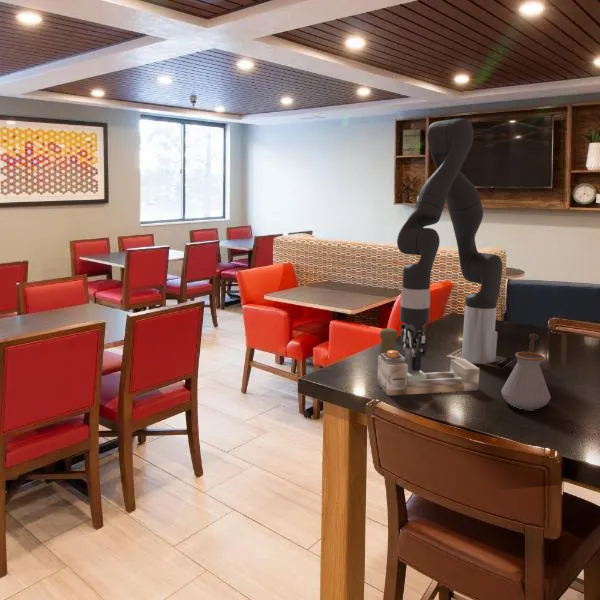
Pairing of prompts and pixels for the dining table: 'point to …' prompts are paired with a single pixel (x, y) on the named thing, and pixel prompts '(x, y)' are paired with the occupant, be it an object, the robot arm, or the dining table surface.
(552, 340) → the dining table surface
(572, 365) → the dining table surface
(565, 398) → the dining table surface
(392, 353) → the button
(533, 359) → the coffee pot
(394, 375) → the rail
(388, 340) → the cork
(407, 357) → the carriage
